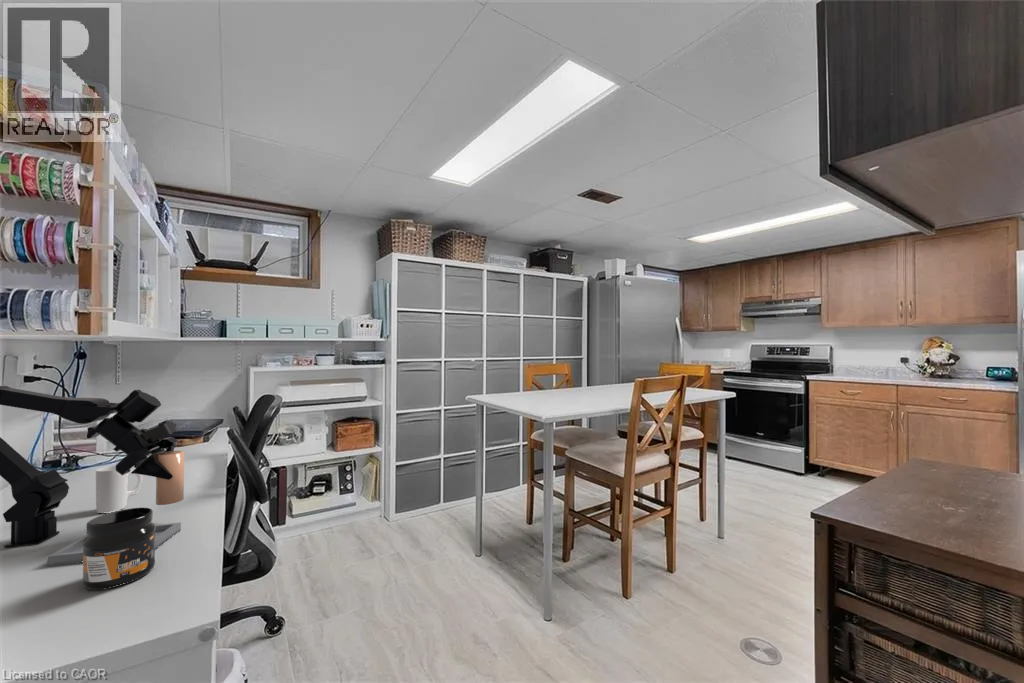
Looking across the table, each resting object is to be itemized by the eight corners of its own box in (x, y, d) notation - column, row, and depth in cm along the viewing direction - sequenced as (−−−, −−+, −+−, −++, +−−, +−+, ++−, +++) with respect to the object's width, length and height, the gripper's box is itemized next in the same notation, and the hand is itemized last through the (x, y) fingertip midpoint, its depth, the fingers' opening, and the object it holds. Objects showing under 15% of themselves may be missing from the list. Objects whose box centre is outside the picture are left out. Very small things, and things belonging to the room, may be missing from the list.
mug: (97, 516, 114) (98, 472, 114) (92, 511, 117) (93, 468, 118) (145, 505, 122) (145, 464, 122) (138, 500, 126) (139, 461, 126)
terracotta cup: (150, 505, 104) (151, 456, 105) (163, 498, 110) (164, 451, 110) (176, 503, 106) (177, 454, 106) (187, 496, 111) (188, 449, 111)
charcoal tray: (47, 566, 86) (47, 556, 86) (93, 539, 99) (93, 531, 99) (149, 554, 91) (149, 545, 91) (180, 530, 103) (180, 522, 103)
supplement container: (83, 599, 74) (85, 532, 74) (79, 579, 81) (80, 517, 81) (159, 575, 82) (160, 514, 82) (150, 558, 89) (151, 502, 89)
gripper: (132, 417, 98) (187, 459, 101) (169, 408, 116) (215, 444, 119) (90, 453, 96) (147, 495, 99) (134, 438, 113) (182, 474, 116)
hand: (176, 474), depth 108 cm, fingers closed on terracotta cup, 6 cm apart
